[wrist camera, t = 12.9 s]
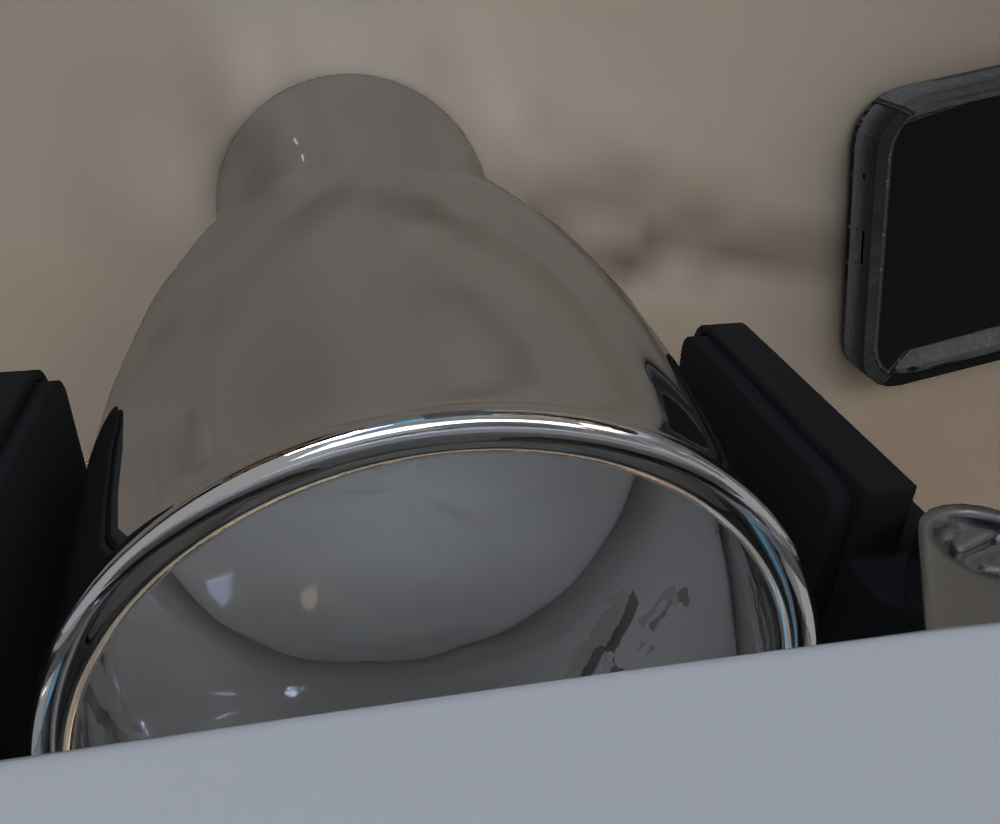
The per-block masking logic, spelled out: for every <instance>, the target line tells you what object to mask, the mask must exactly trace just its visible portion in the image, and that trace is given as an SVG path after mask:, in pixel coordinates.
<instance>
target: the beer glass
mask: <svg viewBox="0 0 1000 824" xmlns="http://www.w3.org/2000/svg"><path fill="white" fill-rule="evenodd" d="M216 211H217V220H216V221H215V222H214V223H213V224H211V225H210V226H209V227H208V228H207V230H206V231H205V232H204V233H203V234H202V235H201V236H200V237H199V239H198V240H197V241H196V242H195V243H194V245H193V246H192V247H191V248H190V250H189V251H188V252H187V253H186V255H185V256H184V257H183V259H182V260H181V261H180V262H179V264H178V265H177V266H176V268H175V269H174V270H173V271H172V273H171V274H170V275H169V277H168V278H167V279H166V281H165V282H164V283H163V285H162V286H161V288H160V289H159V291H158V292H157V294H156V295H155V297H154V298H153V300H152V302H151V304H150V306H149V307H148V309H147V311H146V313H145V315H144V317H143V319H142V321H141V324H140V326H139V328H138V330H137V332H136V334H135V337H134V339H133V341H132V343H131V345H130V347H129V349H128V352H127V354H126V356H125V358H124V360H123V362H122V365H121V367H120V369H119V371H118V374H117V376H116V378H115V380H114V383H113V386H112V389H111V392H110V395H109V398H108V401H107V404H106V408H105V411H104V414H103V417H102V420H101V424H100V427H99V430H98V433H97V437H96V440H95V443H94V446H93V450H92V453H91V456H90V460H89V463H88V467H87V471H86V475H85V479H84V484H83V488H82V493H81V497H80V501H79V506H78V510H77V515H76V519H75V524H74V528H73V532H72V537H71V541H70V546H69V550H68V555H67V561H66V566H65V571H64V576H63V582H62V587H61V592H60V597H59V603H58V608H57V613H56V618H55V623H54V627H53V632H52V636H51V641H50V645H49V648H48V651H47V653H46V655H45V657H44V660H43V662H42V665H41V667H40V670H39V673H38V675H37V678H36V682H35V685H34V689H33V692H32V696H31V701H30V706H29V712H28V719H27V728H26V756H33V755H39V754H46V753H53V752H60V751H67V750H74V749H81V748H88V747H95V746H101V745H108V744H115V743H122V742H129V741H136V740H143V739H150V738H156V737H163V736H170V735H177V734H184V733H191V732H198V731H205V730H211V729H218V728H225V727H232V726H238V725H245V724H252V723H259V722H266V721H273V720H281V719H288V718H295V717H302V716H309V715H316V714H323V713H330V712H337V711H344V710H351V709H358V708H365V707H372V706H379V705H386V704H393V703H400V702H407V701H414V700H421V699H428V698H435V697H442V696H449V695H456V694H463V693H471V692H478V691H485V690H492V689H499V688H506V687H513V686H520V685H527V684H534V683H542V682H549V681H556V680H563V679H570V678H578V677H585V676H592V675H599V674H606V673H614V672H621V671H628V670H635V669H643V668H650V667H657V666H664V665H672V664H679V663H686V662H693V661H701V660H708V659H715V658H722V657H730V656H737V655H744V654H752V653H759V652H767V651H774V650H782V649H789V648H797V647H804V646H811V645H819V644H820V624H819V614H818V607H817V602H816V598H815V594H814V590H813V586H812V583H811V580H810V577H809V575H808V572H807V569H806V567H805V564H804V562H803V560H802V558H801V555H800V553H799V551H798V550H797V548H796V546H795V544H794V542H793V541H792V539H791V537H790V536H789V534H788V533H787V531H786V530H785V528H784V527H783V525H782V524H781V523H780V522H779V520H778V519H777V518H776V516H775V515H774V514H773V513H772V512H771V511H770V509H769V508H768V507H767V506H766V505H765V504H764V503H763V502H762V501H761V500H760V498H759V496H758V495H757V493H756V492H755V490H754V488H753V487H752V485H751V484H750V482H749V480H748V479H747V477H746V476H745V474H744V472H743V471H742V469H741V467H740V466H739V464H738V462H737V461H736V459H735V457H734V455H733V454H732V452H731V450H730V449H729V447H728V445H727V443H726V442H725V440H724V438H723V437H722V435H721V433H720V431H719V430H718V428H717V426H716V425H715V423H714V421H713V420H712V418H711V416H710V415H709V413H708V412H707V410H706V409H705V407H704V405H703V404H702V402H701V401H700V399H699V397H698V396H697V394H696V393H695V391H694V389H693V388H692V386H691V385H690V383H689V382H688V380H687V378H686V377H685V375H684V374H683V372H682V370H681V369H680V367H679V366H678V364H677V363H676V361H675V360H674V358H673V356H672V355H671V354H670V352H669V351H668V350H667V348H666V347H665V346H664V344H663V343H662V342H661V340H660V339H659V338H658V336H657V335H656V333H655V332H654V331H653V329H652V328H651V327H650V325H649V324H648V323H647V321H646V320H645V319H644V317H643V316H642V315H641V313H640V312H639V311H638V309H637V308H636V306H635V305H634V304H633V302H632V301H631V300H630V298H629V297H628V296H627V295H626V294H625V292H624V291H623V290H622V289H621V288H620V287H619V286H618V285H617V284H616V282H615V281H614V280H613V279H612V278H611V277H610V276H609V275H608V274H607V273H606V272H605V271H604V270H603V269H602V268H601V267H600V266H599V265H598V264H597V263H596V262H595V260H594V259H593V258H592V257H591V256H590V255H589V254H588V253H587V252H586V251H585V250H584V249H583V248H582V247H581V246H580V245H579V244H578V243H577V242H576V241H575V240H574V239H573V238H572V237H571V236H570V235H569V234H568V233H566V232H565V231H564V230H563V229H562V228H561V227H559V226H558V225H557V224H555V223H554V222H553V221H552V220H550V219H549V218H547V217H546V216H544V215H543V214H541V213H540V212H538V211H537V210H535V209H534V208H532V207H531V206H529V205H528V204H526V203H525V202H523V201H522V200H520V199H519V198H517V197H516V196H514V195H513V194H511V193H510V192H508V191H507V190H505V189H503V188H502V187H500V186H498V185H496V184H495V183H493V182H491V181H489V180H487V179H485V176H484V173H483V170H482V167H481V165H480V162H479V160H478V157H477V155H476V153H475V151H474V149H473V147H472V146H471V144H470V142H469V140H468V139H467V137H466V136H465V134H464V133H463V131H462V130H461V129H460V128H459V126H458V125H457V124H456V123H455V122H454V120H453V119H452V118H451V117H450V116H449V115H448V114H447V113H446V112H445V111H444V110H442V109H441V108H440V107H439V106H438V105H437V104H435V103H434V102H433V101H431V100H430V99H428V98H427V97H425V96H424V95H422V94H420V93H419V92H417V91H415V90H413V89H411V88H409V87H407V86H405V85H402V84H400V83H397V82H394V81H391V80H388V79H384V78H380V77H375V76H369V75H360V74H337V75H329V76H323V77H318V78H314V79H310V80H307V81H304V82H301V83H298V84H296V85H294V86H291V87H289V88H287V89H285V90H283V91H282V92H280V93H278V94H277V95H275V96H273V97H272V98H271V99H269V100H268V101H267V102H265V103H264V104H263V105H262V106H260V107H259V108H258V109H257V110H256V111H255V112H254V113H253V114H252V115H251V116H250V117H249V118H248V119H247V120H246V122H245V123H244V124H243V125H242V127H241V128H240V130H239V131H238V132H237V134H236V135H235V137H234V139H233V140H232V142H231V144H230V146H229V148H228V150H227V152H226V154H225V157H224V159H223V162H222V165H221V169H220V173H219V177H218V182H217V192H216Z"/></svg>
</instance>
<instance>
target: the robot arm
mask: <svg viewBox="0 0 1000 824" xmlns="http://www.w3.org/2000/svg"><path fill="white" fill-rule="evenodd" d="M679 367H680V369H681V370H682V372H683V374H684V375H685V377H686V378H687V380H688V382H689V383H690V385H691V386H692V388H693V389H694V391H695V393H696V394H697V396H698V397H699V399H700V401H701V402H702V404H703V405H704V407H705V409H706V410H707V412H708V413H709V415H710V416H711V418H712V420H713V421H714V423H715V425H716V426H717V428H718V430H719V431H720V433H721V435H722V437H723V438H724V440H725V442H726V443H727V445H728V447H729V449H730V450H731V452H732V454H733V455H734V457H735V459H736V461H737V462H738V464H739V466H740V467H741V469H742V471H743V472H744V474H745V476H746V477H747V479H748V480H749V482H750V484H751V485H752V487H753V488H754V490H755V492H756V493H757V495H758V496H759V498H760V500H761V501H762V502H763V503H764V504H765V505H766V506H767V507H768V508H769V509H770V511H771V512H772V513H773V514H774V515H775V516H776V518H777V519H778V520H779V522H780V523H781V524H782V525H783V527H784V528H785V530H786V531H787V533H788V534H789V536H790V537H791V539H792V541H793V542H794V544H795V546H796V548H797V550H798V551H799V553H800V555H801V558H802V560H803V562H804V564H805V567H806V569H807V572H808V575H809V577H810V580H811V583H812V586H813V590H814V594H815V598H816V602H817V607H818V614H819V624H820V644H819V645H811V646H804V647H797V648H789V649H782V650H774V651H767V652H759V653H752V654H744V655H737V656H730V657H722V658H715V659H708V660H701V661H693V662H686V663H679V664H672V665H664V666H657V667H650V668H643V669H635V670H628V671H621V672H614V673H606V674H599V675H592V676H585V677H578V678H570V679H563V680H556V681H549V682H542V683H534V684H527V685H520V686H513V687H506V688H499V689H492V690H485V691H478V692H471V693H463V694H456V695H449V696H442V697H435V698H428V699H421V700H414V701H407V702H400V703H393V704H386V705H379V706H372V707H365V708H358V709H351V710H344V711H337V712H330V713H323V714H316V715H309V716H302V717H295V718H288V719H281V720H273V721H266V722H259V723H252V724H245V725H238V726H232V727H225V728H218V729H211V730H205V731H198V732H191V733H184V734H177V735H170V736H163V737H156V738H150V739H143V740H136V741H129V742H122V743H115V744H108V745H101V746H95V747H88V748H81V749H74V750H67V751H60V752H53V753H46V754H39V755H33V756H26V728H27V719H28V712H29V706H30V701H31V696H32V692H33V689H34V685H35V682H36V678H37V675H38V673H39V670H40V667H41V665H42V662H43V660H44V657H45V655H46V653H47V651H48V648H49V645H50V641H51V636H52V632H53V627H54V623H55V618H56V613H57V608H58V603H59V597H60V592H61V587H62V582H63V576H64V571H65V566H66V561H67V555H68V550H69V546H70V541H71V537H72V532H73V528H74V524H75V519H76V515H77V510H78V506H79V501H80V497H81V493H82V488H83V484H84V479H85V475H86V471H87V469H86V465H85V462H84V458H83V454H82V450H81V446H80V442H79V439H78V435H77V431H76V427H75V423H74V419H73V416H72V412H71V408H70V404H69V400H68V396H67V393H66V390H65V387H64V385H63V383H62V382H61V381H60V380H58V381H48V380H47V378H46V376H45V375H44V373H43V372H42V371H41V370H28V371H13V372H0V824H1000V511H999V510H995V509H992V508H988V507H984V506H977V505H969V504H949V505H941V506H938V507H935V508H932V509H929V510H928V511H927V512H926V513H925V512H924V511H922V510H921V509H920V508H919V507H918V506H917V505H916V504H915V503H914V502H913V501H912V500H913V497H914V494H915V491H916V488H917V486H916V485H915V484H914V483H913V482H912V481H911V480H910V479H909V478H908V477H907V476H905V475H904V474H903V473H902V472H901V471H900V470H899V469H898V468H897V467H896V466H895V465H894V464H893V463H892V462H891V461H890V460H888V459H887V458H886V457H885V456H884V455H883V454H882V453H881V452H880V451H879V450H878V449H877V448H876V447H875V446H874V445H873V444H872V443H870V442H869V441H868V440H867V439H866V438H865V437H864V436H863V435H862V434H861V433H860V432H859V431H858V430H857V429H856V428H855V427H854V426H852V425H851V424H850V423H849V422H848V421H847V420H846V419H845V418H844V417H843V416H842V415H841V414H840V413H839V412H838V411H837V410H835V409H834V408H833V407H832V406H831V405H830V404H829V403H828V402H827V401H826V400H825V399H824V398H823V397H822V396H821V395H820V394H819V393H817V392H816V391H815V390H814V389H813V388H812V387H811V386H810V385H809V384H808V383H807V382H806V381H805V380H804V379H803V378H802V377H800V376H799V375H798V374H797V373H796V372H795V371H794V370H793V369H792V368H791V367H790V366H789V365H788V364H787V363H786V362H785V361H784V360H782V359H781V358H780V357H779V356H778V355H777V354H776V353H775V352H774V351H773V350H772V349H771V348H770V347H769V346H768V345H767V344H766V343H764V342H763V341H762V340H761V339H760V338H759V337H758V336H757V335H756V334H755V333H754V332H753V331H752V330H751V329H750V328H749V327H747V326H746V325H745V324H743V323H729V324H714V325H702V326H700V327H699V328H698V329H697V331H696V333H695V335H694V336H692V337H687V338H686V339H685V340H684V343H683V346H682V351H681V358H680V365H679Z"/></svg>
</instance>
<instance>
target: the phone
mask: <svg viewBox="0 0 1000 824" xmlns="http://www.w3.org/2000/svg"><path fill="white" fill-rule="evenodd" d="M842 347H843V353H844V354H845V356H846V358H847V360H848V361H849V362H850V363H852V364H853V365H854V366H855V367H856V368H858V369H859V370H860V371H861V372H863V373H864V374H865V375H866V376H867V377H869V378H870V379H871V380H873V381H874V382H876V383H877V384H880V385H884V386H896V385H902V384H906V383H910V382H914V381H918V380H922V379H926V378H930V377H934V376H938V375H942V374H946V373H950V372H954V371H957V370H961V369H965V368H969V367H973V366H977V365H981V364H985V363H989V362H993V361H997V360H1000V65H995V66H991V67H987V68H982V69H978V70H973V71H969V72H964V73H960V74H955V75H951V76H946V77H942V78H937V79H933V80H928V81H924V82H920V83H915V84H911V85H906V86H902V87H898V88H896V89H893V90H891V91H888V92H886V93H884V94H883V95H881V96H880V97H879V98H878V99H876V100H875V101H874V102H872V103H871V105H870V106H869V107H868V108H867V110H866V111H865V112H864V113H863V115H862V116H861V118H860V120H859V122H858V124H857V126H856V129H855V131H854V136H853V141H852V147H851V167H850V186H849V206H848V226H847V246H846V266H845V286H844V306H843V326H842Z"/></svg>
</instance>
